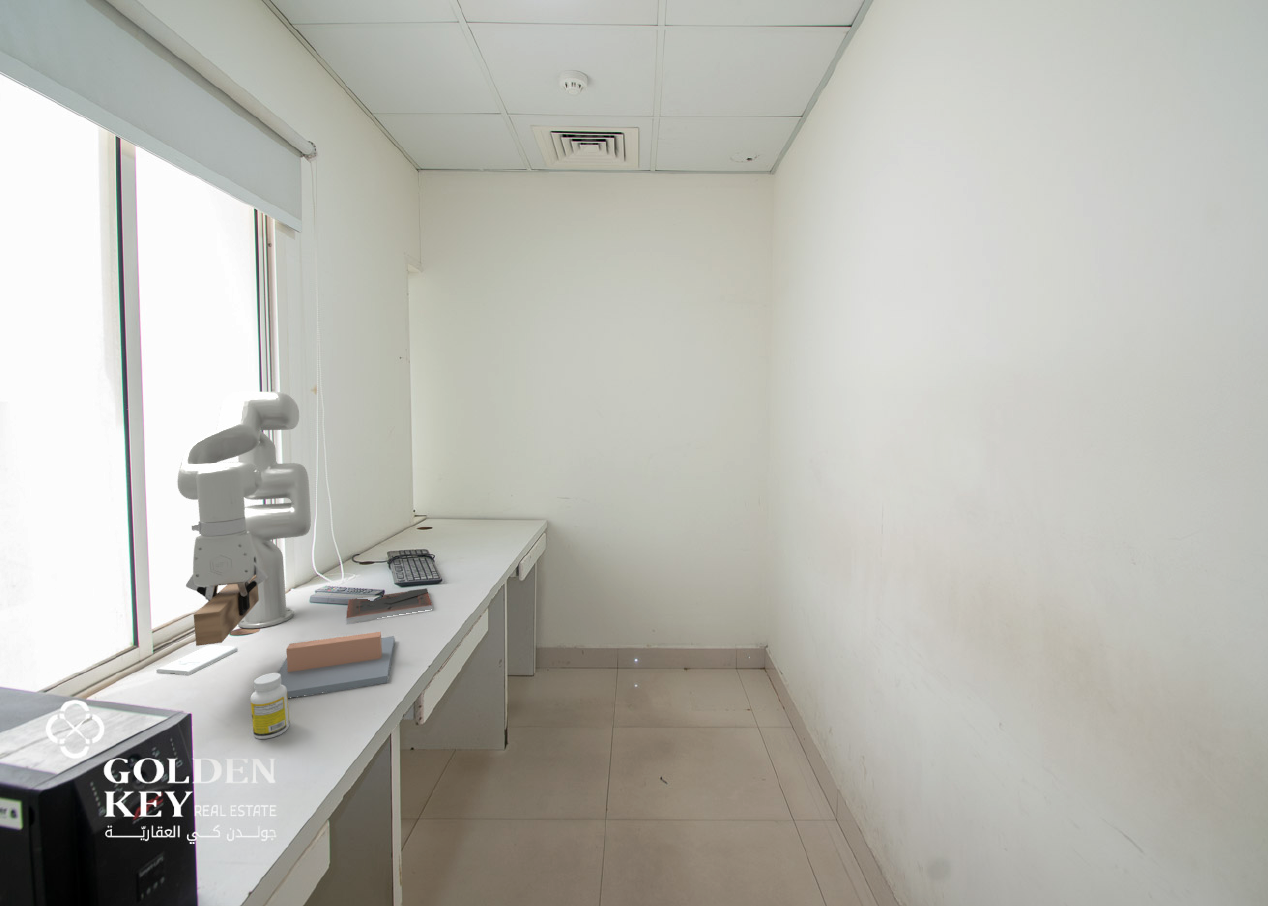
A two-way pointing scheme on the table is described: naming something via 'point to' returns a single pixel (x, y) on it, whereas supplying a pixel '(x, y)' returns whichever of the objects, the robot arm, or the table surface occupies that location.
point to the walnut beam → (221, 615)
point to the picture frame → (388, 605)
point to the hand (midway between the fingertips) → (230, 614)
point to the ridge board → (336, 664)
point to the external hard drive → (197, 659)
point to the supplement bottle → (269, 706)
